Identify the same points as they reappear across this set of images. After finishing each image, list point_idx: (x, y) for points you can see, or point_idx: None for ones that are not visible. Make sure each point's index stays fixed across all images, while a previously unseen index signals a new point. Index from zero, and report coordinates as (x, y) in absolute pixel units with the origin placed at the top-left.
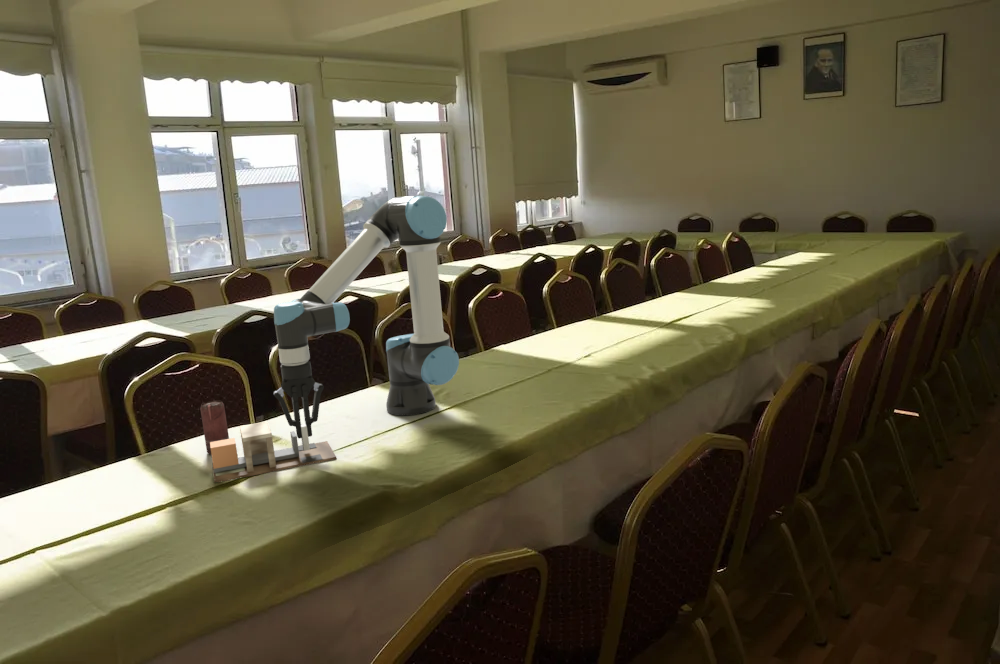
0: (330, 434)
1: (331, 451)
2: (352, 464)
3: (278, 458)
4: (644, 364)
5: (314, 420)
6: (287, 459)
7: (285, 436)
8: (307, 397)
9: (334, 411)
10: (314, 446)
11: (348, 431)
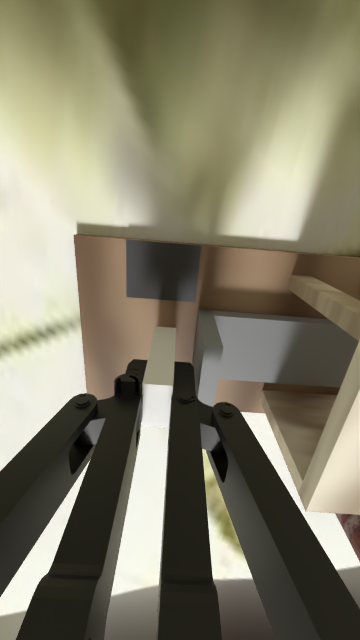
0: None
1: (84, 303)
2: (18, 120)
3: (272, 317)
4: None
5: (89, 398)
6: None
7: None
8: (29, 621)
9: (50, 565)
10: None
11: (22, 446)
